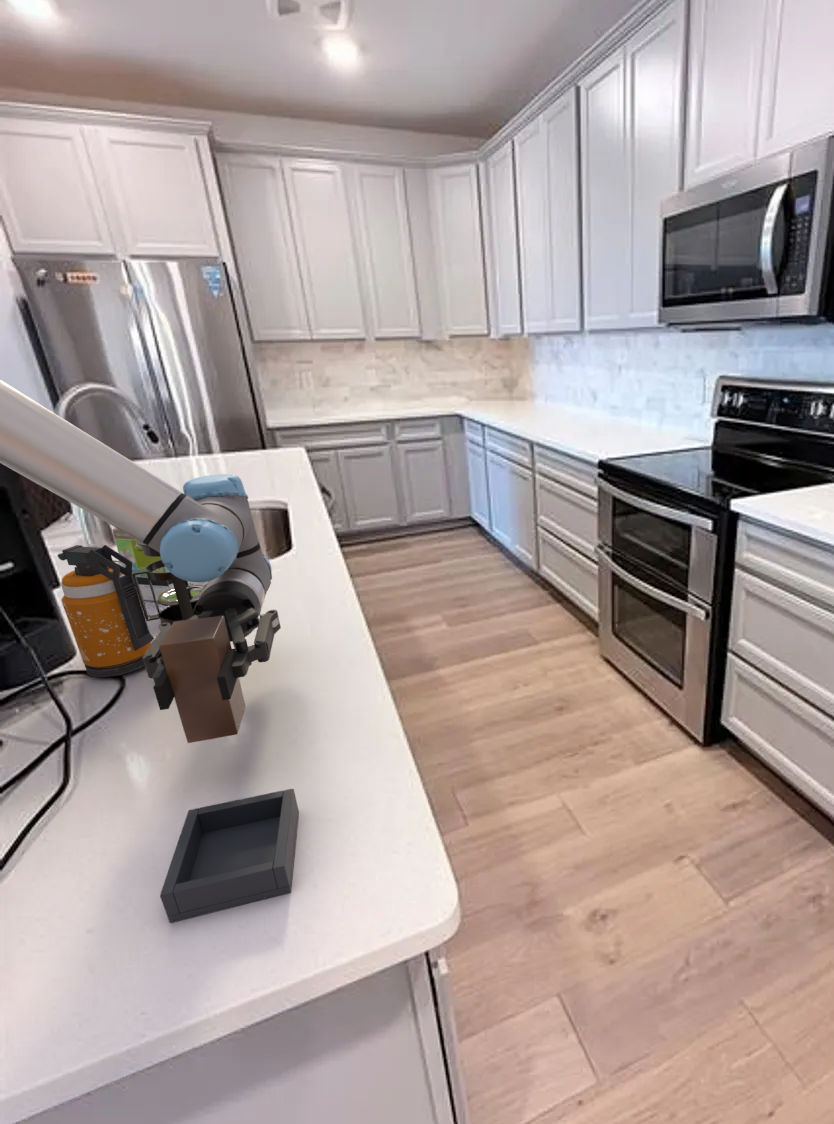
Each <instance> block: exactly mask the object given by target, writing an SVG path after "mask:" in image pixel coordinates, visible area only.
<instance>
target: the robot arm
mask: <svg viewBox="0 0 834 1124" xmlns="http://www.w3.org/2000/svg"><path fill="white" fill-rule="evenodd" d="M0 464H1V465H3V466H5V467H6V468H9V469H11V470H12V471H13V472H16V473H17V474H19V475H21V476H22V477H25V478H26V479H28V480H29V481H31V482H33V483H35V484H36V485H39V486H41V487H42V488H44V489H46V490H48V491H50V492H51V493H53V494H54V495H56V496H59V498H62V499H64V500H65V501H67V502H69V503H71V504H73V505H74V506H76V507H77V508H79V509H82V510H84V511H85V512H87V513H89V514H90V515H92V516H94V517H95V518H97V519H99V520H101V521H103V522H105V523H107V524H108V525H110V526H111V527H113V528H114V529H115V528H117V529H119V530H121V531H123V532H124V533H126V534H128V535H130V536H131V537H133V538H135V539H137V540H139V541H140V542H142V543H144V544H146V545H148V546H149V547H151V548H153V549H154V550H156V551H158V552H159V553H160V556H161V560H162V562H163V563H164V565H165V567H166V568H167V569H168V570H169V571H170V572H171V573H172V574H173V575H175V576H176V577H178V578H180V579H182V580H185V581H189V582H207V581H209V582H208V584H206V587H205V589H204V590H203V592H202V595H201V596H200V598H199V600H198V601H197V603H196V605H195V608H194V611H193V616H192V617H191V618H189V619H187V620H191V619H199V618H208V617H216V616H224V619H225V623H226V627H227V631H228V635H229V640H230V643H232V645H233V648H232V649H228V650H227V653H226V655H225V658H224V661H223V663H222V666H221V668H220V671H219V673H218V676H217V681H218V685H219V688H220V692H221V696H222V700H228V699H231V696H232V693H233V690H234V687H235V684H236V681H237V678H239V679H240V678H244V677H246V675H247V674H248V671H249V668H250V666H252V664H253V662H255V661H257V662H258V663H267V662H268V661H269V660H270V657H271V652H272V649H273V644H274V638H275V634H276V633H278V631H280V629H282V628H281V627H282V626H281V621H280V617H279V612H278V610H277V609H270V610H268V611H266V612H265V613H261V612H262V609H263V606H264V602H265V598H266V595H267V592H268V591H269V589H270V587H271V584H272V580H273V573H272V571H273V570H272V565H271V562H270V560H269V559H268V557H267V556H266V555H265V554H264V553H263V549H262V546H261V545H260V541H259V538H258V534H257V529H256V527H255V526H256V525H255V522H254V519H253V514H252V511H251V507H250V504H249V503H250V502H249V495H248V494H247V493H246V490H245V487H244V484H243V481H242V478H240V476H238V475H237V474H233V473H217V474H209V475H204V476H199V477H195V478H192V479H189V480H187V481H186V482H185V483H183V486H182V490H183V491H181V490H179V489H178V488H176V487H174V486H173V485H171V484H169V482H166V481H165V480H163V479H161V478H160V477H158V476H157V475H155V474H154V473H152V472H150V471H149V470H147V469H145V468H144V467H142V466H141V465H139V464H137V463H136V462H134V461H132V460H131V459H129V458H127V457H126V456H124V455H123V454H121V453H120V452H118V451H116V450H115V449H113V448H111V446H108V445H107V444H105V443H103V442H102V441H100V440H99V439H97V438H95V437H94V436H92V435H90V434H88V432H85V431H84V430H83V429H81V428H79V427H78V426H76V425H74V424H73V423H71V422H70V421H68V420H66V419H65V418H64V417H62V416H60V415H58V414H57V413H55V412H54V411H52V410H50V409H48V408H47V407H45V406H43V405H42V404H40V403H39V402H38V401H36V400H34V399H32V398H31V397H29V396H28V395H27V394H24V393H23V392H21V391H19V390H18V389H16V388H15V387H13V386H12V385H10V384H8V383H7V382H5V381H3V380H2V379H0ZM170 627H171V624H170V623H162V624H161V623H160V624H159V625H158V629H159V632H158V633H157V635H156V637H155V638H154V640H152V642H151V646H150V647H149V649H148V650H147V652H146V653H145V655H144V656H143V661H144V667H145V671H146V675H147V677H148V679H153V682H154V685H153V687H152V688H153V692H154V694H155V695H154V696H155V698H156V700H157V704H158V708H159V711H164V710H169V709H170V707H171V705H172V703H173V701H174V700H175V698H174V695H173V691H172V688H171V684H170V681H169V677H168V674H167V671H166V667H165V664H164V660H163V657H162V654H161V650H160V647H159V645H160V643H161V642H162V640H163V639H164V637H165V635H166V634H167V632H168V630H169V629H170ZM255 629H257V630H256V633H255V636H254V641H253V644H252V645H248V642H247V638H246V637H248V636H249V635H251V633H252V632H253V631H254V630H255Z"/></svg>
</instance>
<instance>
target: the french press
mask: <svg viewBox="0 0 834 1124" xmlns="http://www.w3.org/2000/svg"><path fill="white" fill-rule="evenodd" d="M137 544H138V545H139V546H141V547H142V550H143V553H144V555H146V556H152V557H160V553H159V552H158V551H156V550H154V549H153V548H151V547H149V546H148V545H146V544H144V543H142V542H140V541H139V540H137ZM162 567H165V565H164V563H163V562H162V560H159V561H156V562H153V563H151V564H149V565H148V566H147V567H146V568H145V569H141V570H136V571H133V573H132V576H133V580H134V583H135V585H136V588H137V589H136V590H137V593H138V596H139V599H140V603H141V606H142V610H143V613H144V616H145V620H146V622H151V621H156V620H159V621H160V624H162V623H170V624H171V625H172V624H173V622H175V621H183V620H187V619H189V618H191V617H192V616H193V611H194V608H195V605H196V603H197V601H198V600H199V598H200V596H201V595H202V592H203V590H204V589H205V587H206V585H207V584H206V585H188V581H185V580H182V579H180V578H178V577H176V576H175V575H173V574H172V573H171V572H166V573H153V572H152V571H154V570H156V569H159V568H162ZM145 573H146V575H147V578H148V581H149V585H150V588H151V591H152V595H153V598H154V601H153V602H154V604H155V608H156V611H157V614H152V615H149V613H148V610H147V607H146V604H145V600H143V597H142V594H141V590H140V587H139V584H138V581H137V577H136V575H139V574H145ZM150 579H151V580H172V582H173V586H174V588H173V589H170V590H167V591H165V592H163V593H161V594H159V595H158V596H157V597H155V593H154V590H153V586H152V583H151V580H150ZM159 605H160V606H166V608H164V609H163V610H160V607H159Z"/></svg>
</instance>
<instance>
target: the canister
mask: <svg viewBox="0 0 834 1124" xmlns="http://www.w3.org/2000/svg"><path fill="white" fill-rule="evenodd" d="M57 558H58V559H59V560H60V561H67V564H68V566H74V570H72V571H70V572H67V573H66V574H65V575H64V576H63V577H62V578H61V583H60V586H61V590H62V593H63V596H62V597H61V603H62V606H63V609H64V612H65V615H66V618H67V621H68V623H69V626H70V629H71V633H72V635H73V637H74V641H75V643H76V646H77V649H78V652H79V653H80V657H81V659H82V662H83V664H84V668H85V670H86V674H88V675H89V676H91V677H98V678H105V677H117V676H122V675H127V674H129V673H132V672H135V671H137V670H139V669H140V668H142V667H145V665H144V661H143V656H144V655H145V653H146V652H147V650H148V649H149V647H150V646H151V644H152V642H153V641H154V640H155V638H154V636H153V635H152V634H151V633H150V630H149V626H148V623H147V621H146V619H145V616H144V612H143V609H142V606H141V603H140V600H139V596H138V593H137V590H136V589H137V588H136V585H135V583H134V580H133V577H132V565H133V562H131V561H130V560H128V559H127V558H125V557H124V556H122V555H120V554H119V553H118V551H116V550H115V549H113V548H111V547H109V546H108V545H107V544H103V546H102V547H96V546H95V547H94V546H83V545H81V544H76V545H73V546H71V547H67V548H64V549H62V550H61V553H58V554H57ZM113 558H114V559H115V560H114V559H113ZM119 563H121V564H119ZM122 563H124V564H125V565H126V567H123V566H122Z"/></svg>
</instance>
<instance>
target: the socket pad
mask: <svg viewBox="0 0 834 1124" xmlns="http://www.w3.org/2000/svg"><path fill="white" fill-rule="evenodd" d="M299 815H300V810H299V807H298V802H297V798H296V793H295V789H294V788H288V789H284V790H279V791H274V792H269V793H268V792H267V793H264V794H259V795H255V796H249V797H244V798H240V799H235V800H230V801H225V802H221V803H216V804H215V803H214V804H211V805H207V806H201V807H196V808H191V809H188V811H187V813H186V816H185V820H184V823H183V826H182V829H181V832H180V835H179V838H178V841H177V843H176V846H175V850H174V852H173V854H172V855H173V856H172V858H171V862H170V864H169V868H168V871H167V874H166V876H165V880H164V882H163V886H162V889H161V891H160V893H159V897H160V900H161V903H162V905H163V909H164V911H165V914H166V916H167V920H168V923H175V922H179V921H183V920H186V919H190V918H191V919H192V918H194V917H198V916H203V915H207V914H210V913H214V912H219V911H222V910H227V909H230V908H234V907H238V906H239V907H240V906H242V905H243V906H244V905H247V904H250V903H254V902H259V901H262V900H266V899H270V898H274V897H278V896H282V895H287V894H291V892H292V887H293V886H292V885H293V876H294V866H295V857H296V846H297V837H298V836H297V835H298V827H299V817H300V816H299Z"/></svg>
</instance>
